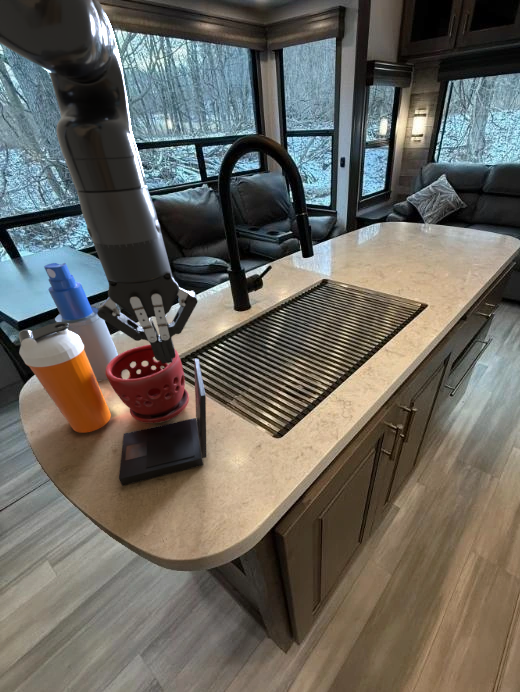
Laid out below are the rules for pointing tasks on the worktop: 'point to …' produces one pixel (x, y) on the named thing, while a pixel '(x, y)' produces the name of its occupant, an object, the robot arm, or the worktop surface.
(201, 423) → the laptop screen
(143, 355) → the flower pot
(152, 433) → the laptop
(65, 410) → the shaker bottle
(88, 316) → the spray bottle
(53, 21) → the robot arm
